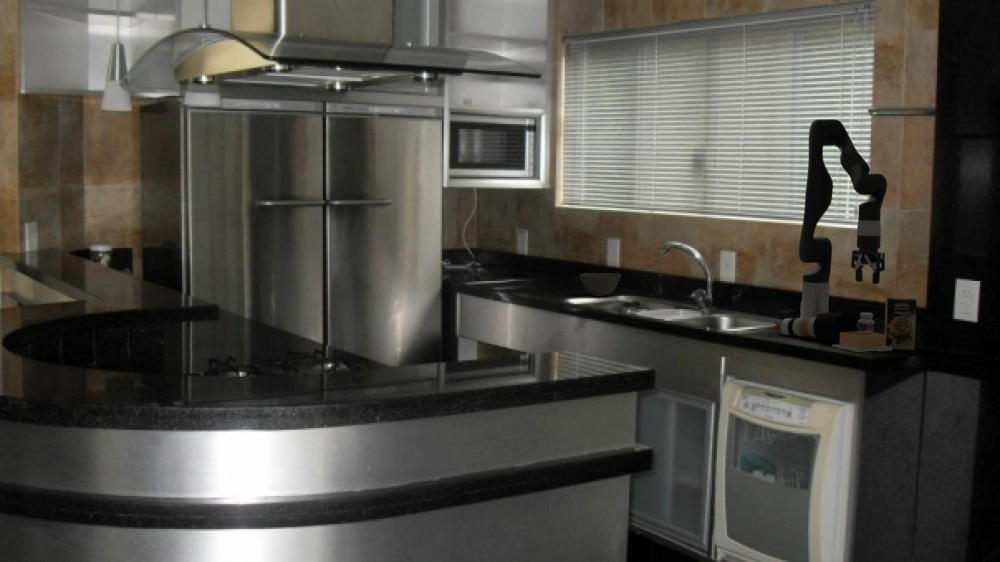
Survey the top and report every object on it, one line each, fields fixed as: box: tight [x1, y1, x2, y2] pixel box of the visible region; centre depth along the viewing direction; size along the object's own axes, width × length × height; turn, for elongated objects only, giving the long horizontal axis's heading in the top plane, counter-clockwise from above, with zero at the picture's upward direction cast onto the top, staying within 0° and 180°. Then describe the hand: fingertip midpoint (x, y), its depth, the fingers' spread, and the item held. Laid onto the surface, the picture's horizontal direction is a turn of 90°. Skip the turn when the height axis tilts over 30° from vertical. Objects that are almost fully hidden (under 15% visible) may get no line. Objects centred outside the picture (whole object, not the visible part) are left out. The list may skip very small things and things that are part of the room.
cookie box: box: [883, 297, 918, 351], centre depth 389 cm, size 9×6×16 cm
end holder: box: [832, 330, 893, 353], centre depth 387 cm, size 12×14×5 cm
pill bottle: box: [857, 312, 875, 333], centre depth 402 cm, size 5×5×10 cm
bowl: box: [578, 272, 622, 296], centre depth 541 cm, size 19×19×10 cm
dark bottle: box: [774, 312, 858, 344], centre depth 410 cm, size 10×34×10 cm, turn 28°
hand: (867, 282), depth 401 cm, fingers open, 8 cm apart
